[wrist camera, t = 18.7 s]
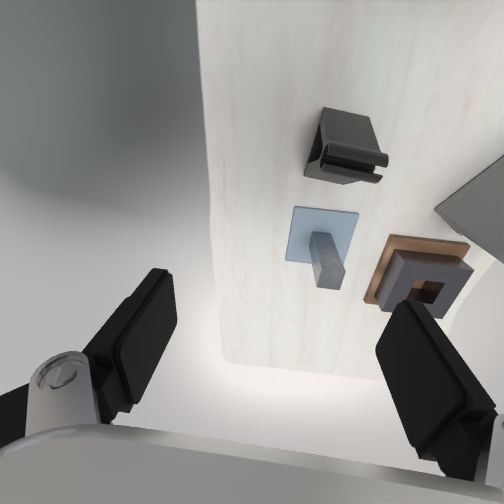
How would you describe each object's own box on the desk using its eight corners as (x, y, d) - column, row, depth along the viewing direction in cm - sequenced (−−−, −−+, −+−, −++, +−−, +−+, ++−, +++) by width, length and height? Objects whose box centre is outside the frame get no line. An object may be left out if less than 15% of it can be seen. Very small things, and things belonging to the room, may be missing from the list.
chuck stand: (390, 234, 40) (392, 237, 39) (466, 243, 39) (470, 246, 39) (363, 299, 47) (365, 303, 46) (428, 307, 47) (430, 311, 46)
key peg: (312, 231, 41) (321, 268, 31) (330, 233, 40) (345, 271, 31) (308, 246, 42) (316, 287, 33) (326, 248, 42) (339, 290, 32)
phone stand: (342, 184, 37) (365, 214, 27) (303, 175, 37) (311, 201, 27) (368, 117, 32) (408, 121, 22) (323, 106, 32) (343, 106, 22)
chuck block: (394, 248, 40) (404, 261, 37) (457, 256, 40) (474, 270, 36) (374, 295, 45) (381, 311, 42) (430, 302, 45) (442, 319, 41)
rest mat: (294, 206, 39) (294, 207, 39) (358, 213, 39) (359, 214, 38) (285, 258, 44) (285, 260, 44) (341, 265, 44) (342, 267, 43)
